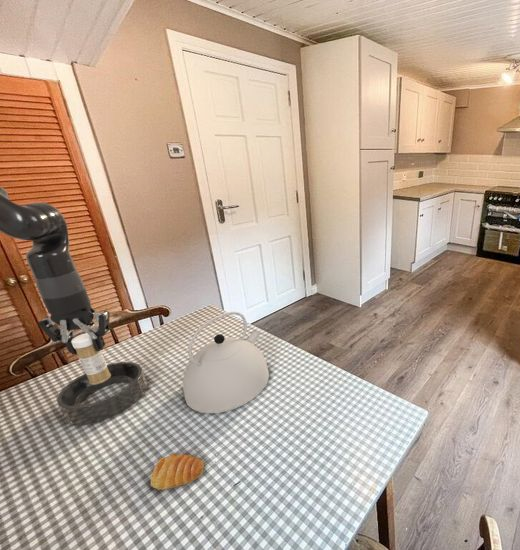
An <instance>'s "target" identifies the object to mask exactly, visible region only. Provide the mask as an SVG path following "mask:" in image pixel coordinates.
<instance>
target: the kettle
mask: <svg viewBox="0 0 520 550" xmlns="http://www.w3.org/2000/svg"><path fill="white" fill-rule="evenodd" d="M232 315H235V316H239V317H240V318H241V320H242V322H243V332H242V336H241V338H236V337H225V336H224V335H223V334H221V333H218V334H216V335H215V336H214V338H213V341H211V342H209V343H207V344H206V345H205V346H203V347H201V349H199V350H198V351H197V352H196V353H195V354H194V355H193V347H194V342H195V340H196V338H197V337H198V335H199V334H200V333H201V332H202V331H203V329H204V328H206V327H207V326H209V325H211V324H212V323H214V322H215V321H218V320H220V319H223V318H224V317H227V316H232ZM247 329H248V323H247V319H246V317H245V316H244V315H243V314H242V313H241V312H238V311H228V312H224V313H222V314H220V315H217V316H215V317H213V318H211V319H209V320H207V321H206V322H205V323H203V324H202V325H200V327H199V328H198V329H197V330H195V332H194V333H193V335H192V337H191V338H190V341H189V343H188V347H187V348H188V349H187V352H188V359H189V362H188V363H187V366H186V367H185V371H184V374H183V378H182V391H183V392H182V393H183V396H184V400H185V403H186V404H187V406H188V407H189V408H191V410H193V411H196V412H198V413H202V414H218V413H225V412H229V411H232V410H235V409H237V408H240V407H242V406H244V405H245V404H247V403H250V402H251V401H252V400H253V399H255V398H256V397H257V396H258V395H260V394H261V392H262V391H263V390H264V389H265V387H266V386H267V384H268V381H269V377H270V372H269V367H268V363H267V360H266V358H265V356H264V354H263V353H262V351H261V350H260V349H259V348H258V347H257V346H256V345H255V344H256V342H257V340H258V338H259V336H260V334H261V331H260V330H253V331H252V332H251V333H250V334H249V336H248V337H246V335H247Z"/></svg>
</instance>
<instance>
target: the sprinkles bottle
mask: <svg viewBox="0 0 520 550" xmlns="http://www.w3.org/2000/svg"><path fill="white" fill-rule="evenodd" d="M71 343H72V345H73V347H74V348H75V349H76V352H77V354H76V355H77V356H78V359H79V362H80V365H81V367H82V369H83V371H84V374H85V373H86V375H87V377H88V379H89V383H90V384H92V385H96V384H100V383H103V382H105V381H106V380H108V379H109V378H110V376H111V374H110V373H109V370H108V368H107V365H108V364H107V363H106V359H105V358H104V357H105V356H104V355H103V352H102V350H101V351H96V349H95V347H94V344H93V342H92V338H91V337H90V336H89V335H88V334H87V333H81V334H78V335H76V336H74V337H73V339H72V341H71Z"/></svg>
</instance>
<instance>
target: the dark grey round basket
mask: <svg viewBox="0 0 520 550" xmlns="http://www.w3.org/2000/svg"><path fill="white" fill-rule="evenodd" d="M106 365H107V368H108V370H109V373H110V374H111V376H110V378H109V379H108V380H106V381H105V382H103V383H100V384H96V385H92V384H90V383H89V379H88V377H87V375H86V373H85V372H84V373H83V374H81V375H79V376H77V377H76V378H74V379H73V380H72V381H70V382H69V383H67V384H66V385H65V386H64V387H63V388H62V389H61V390H60V392H59V393H58V396H57V397H56V402H57V405H58V407H59V409H60V412H61V413H62V415H63V417H64V419H65V421H66V422H67V423H69V424H71V425H79V426H85V425H91V424H97V423H100V422H103V421H106V420H108V419H111V418H113V417H116V416H117V415H119V414H121V413H123V412H125V411H126V410H128V409H130V407H133V405H135V404H136V403H137V402H138V401H139V400H140V399H141V398H142V397H143V396H144V394H145V392H146V391H147V389H148V382H147V378H146V375H145V373H144V370H143V367H142V366H141V365H140V364H138V363H137V362H133V361H119V362H113V363H109V364H106ZM122 383H124V384H129V385H128V386H127V387H125V388H124V389H122V390H121V391H118V392H117V393H116V394H114V395H112V396H110V397H107V398H105V399H103V400H100V401H97V402H94V403H91V404H85V405H82V404H83V402H84V401H85V400H86V399H88V398H89V397H91V396H92V395H93V394H95V393H96V392H98V391H100V390H103V389H105V388H106V387H109V386H112V385H116V384H122Z"/></svg>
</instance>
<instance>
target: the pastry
mask: <svg viewBox="0 0 520 550" xmlns="http://www.w3.org/2000/svg"><path fill="white" fill-rule="evenodd" d="M204 466H205V463H204V461H203V460H201V459H199V458H197V456H193V455H190V454H185V453H179V454H177V453H172V454H170V455H169V456H165V457H162V458H160V459H159V460H158V461H157V462H156V463H155V465H154V467H153V471H152V472H151V476H150V486H151V488H153V489H155V490H159V491H164V490H169V489H174V488H177V487H181V486H184V485H187V484H191V483H193V482H194V481H195V480H197V479H199V478H200V477H201V476H202V475H203V472H204V468H205V467H204Z"/></svg>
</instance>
